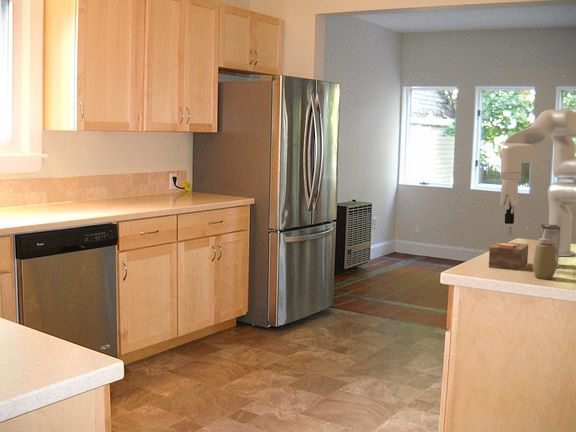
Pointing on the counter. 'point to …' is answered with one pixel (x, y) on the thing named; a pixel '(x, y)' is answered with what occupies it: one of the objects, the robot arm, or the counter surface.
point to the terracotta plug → (507, 245)
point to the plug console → (508, 256)
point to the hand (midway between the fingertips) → (509, 223)
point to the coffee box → (553, 238)
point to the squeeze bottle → (544, 257)
